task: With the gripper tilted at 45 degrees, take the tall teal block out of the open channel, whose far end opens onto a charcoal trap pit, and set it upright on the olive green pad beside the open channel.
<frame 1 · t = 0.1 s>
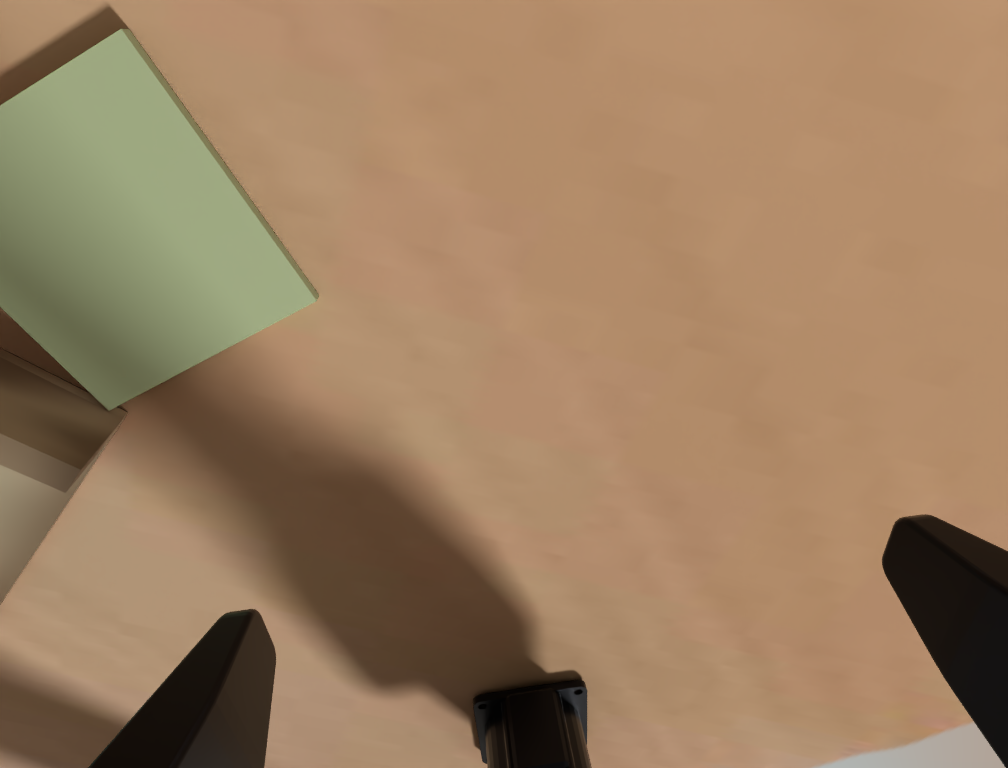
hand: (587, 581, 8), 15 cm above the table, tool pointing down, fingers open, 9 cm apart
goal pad: (121, 243, 19), on the table
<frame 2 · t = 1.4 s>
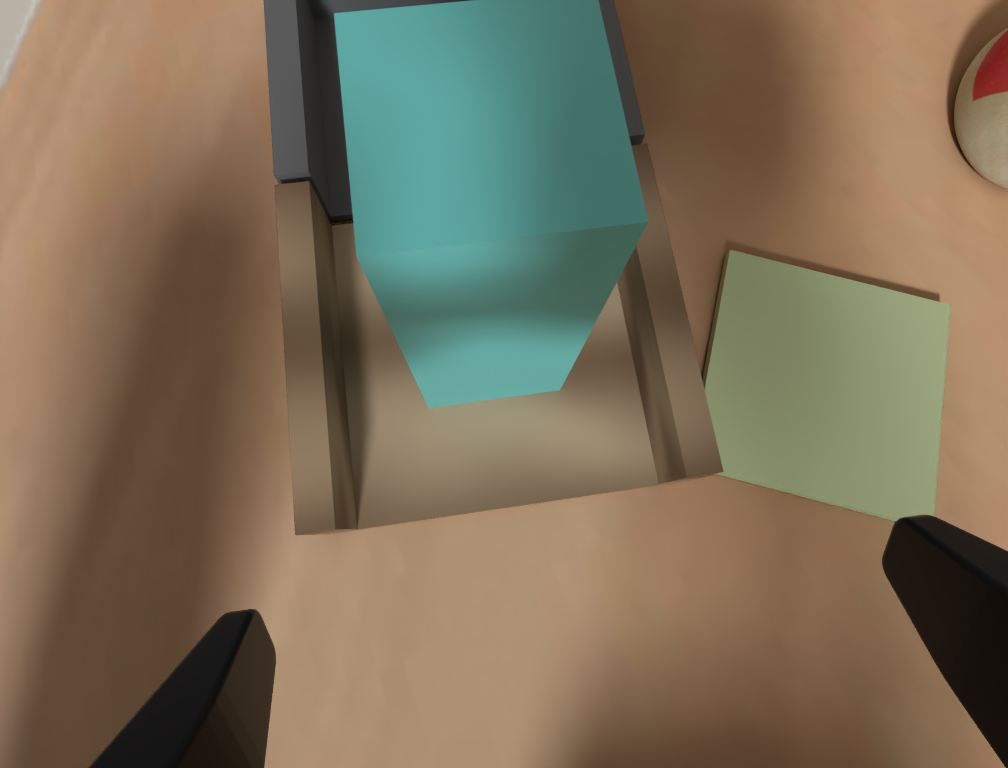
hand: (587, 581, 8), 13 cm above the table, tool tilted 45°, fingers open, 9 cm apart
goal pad: (818, 384, 23), on the table
open channel: (487, 352, 23), on the table
trap pit: (450, 95, 26), on the table
teal block: (485, 336, 23), resting on open channel
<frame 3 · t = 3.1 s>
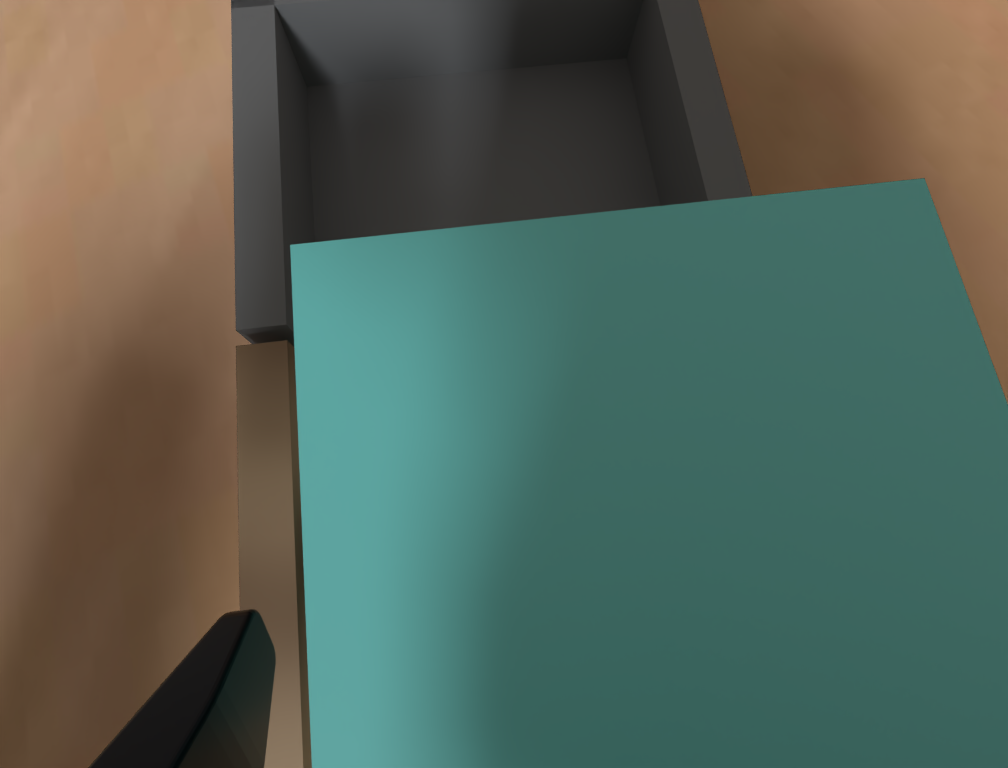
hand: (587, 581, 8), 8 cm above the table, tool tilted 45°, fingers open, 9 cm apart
open channel: (538, 563, 16), on the table
trap pit: (484, 188, 19), on the table
teal block: (536, 544, 16), resting on open channel
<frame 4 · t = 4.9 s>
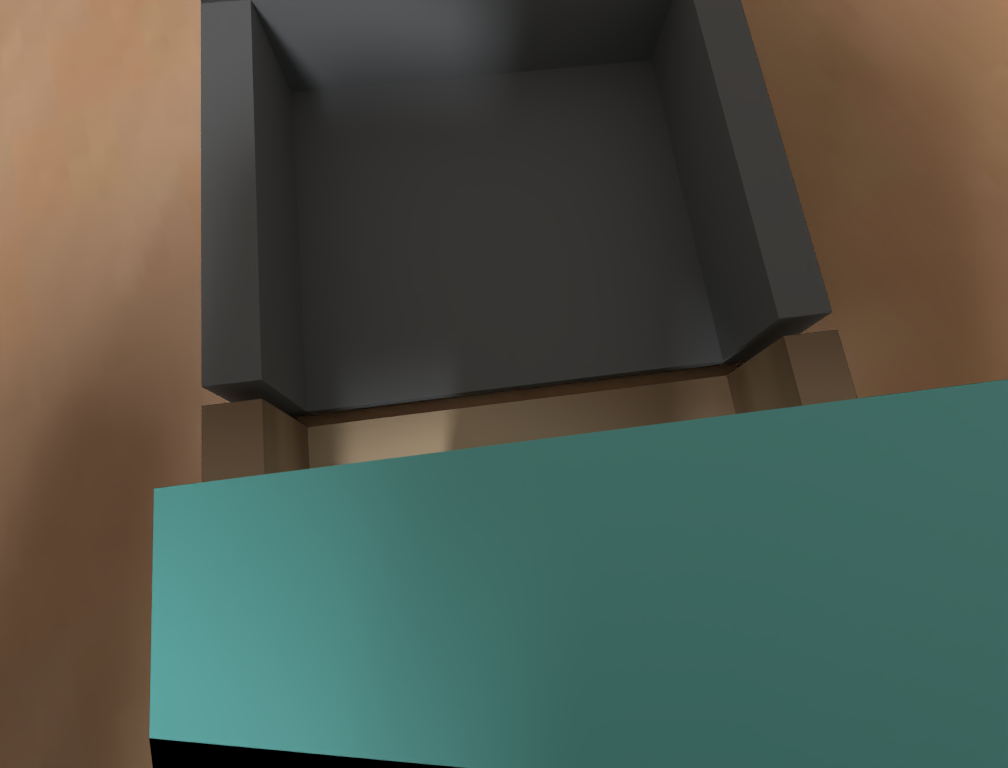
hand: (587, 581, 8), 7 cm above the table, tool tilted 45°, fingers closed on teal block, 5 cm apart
open channel: (555, 645, 14), on the table
trap pit: (492, 208, 17), on the table
teal block: (553, 625, 14), resting on open channel, touching gripper
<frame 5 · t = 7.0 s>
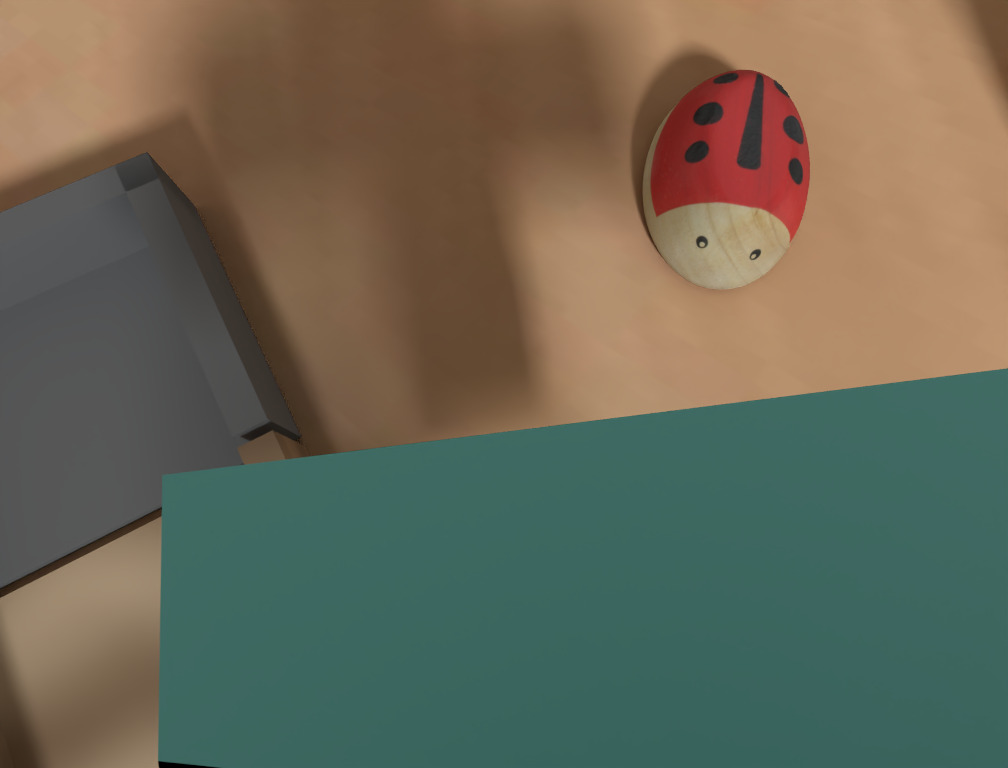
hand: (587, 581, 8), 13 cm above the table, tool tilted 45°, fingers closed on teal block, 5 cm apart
open channel: (193, 696, 20), on the table
trap pit: (78, 393, 22), on the table
teal block: (552, 622, 14), point 7 cm above the table, touching gripper
ladybug figurine: (714, 197, 26), on the table
when the fingers open (8 cm above the table, at t = 9.2 s): teal block drops 1 cm, resting on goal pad.
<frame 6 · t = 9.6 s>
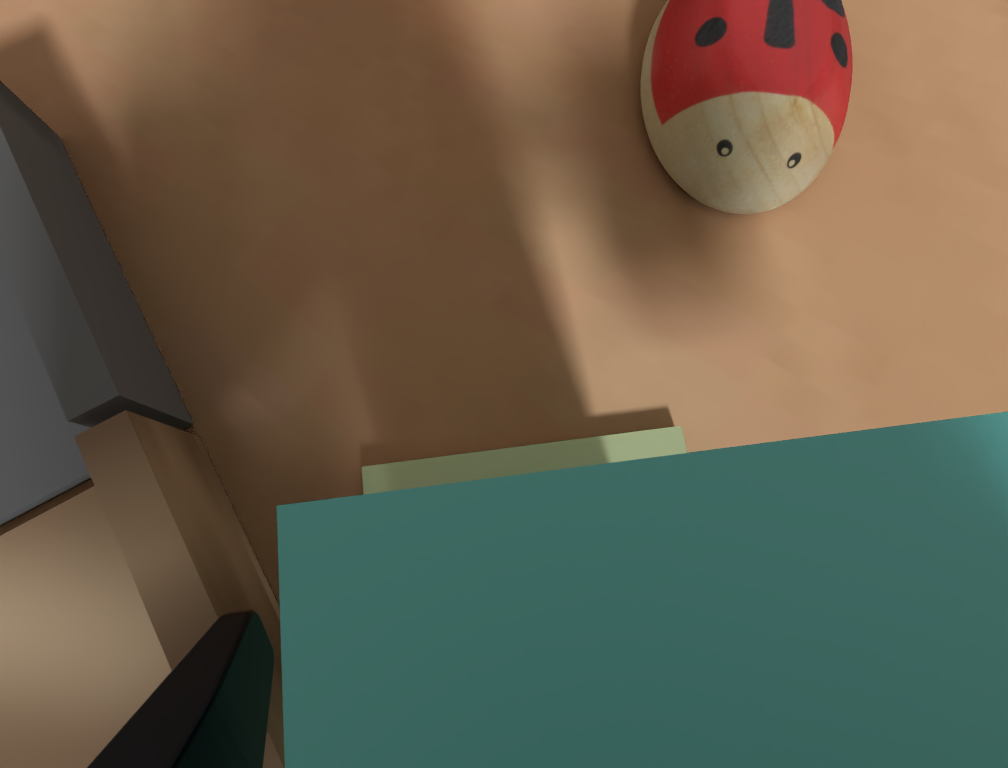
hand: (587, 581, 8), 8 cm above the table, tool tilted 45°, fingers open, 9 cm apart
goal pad: (546, 614, 16), on the table
teal block: (545, 617, 15), resting on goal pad
ladybug figurine: (728, 106, 21), on the table
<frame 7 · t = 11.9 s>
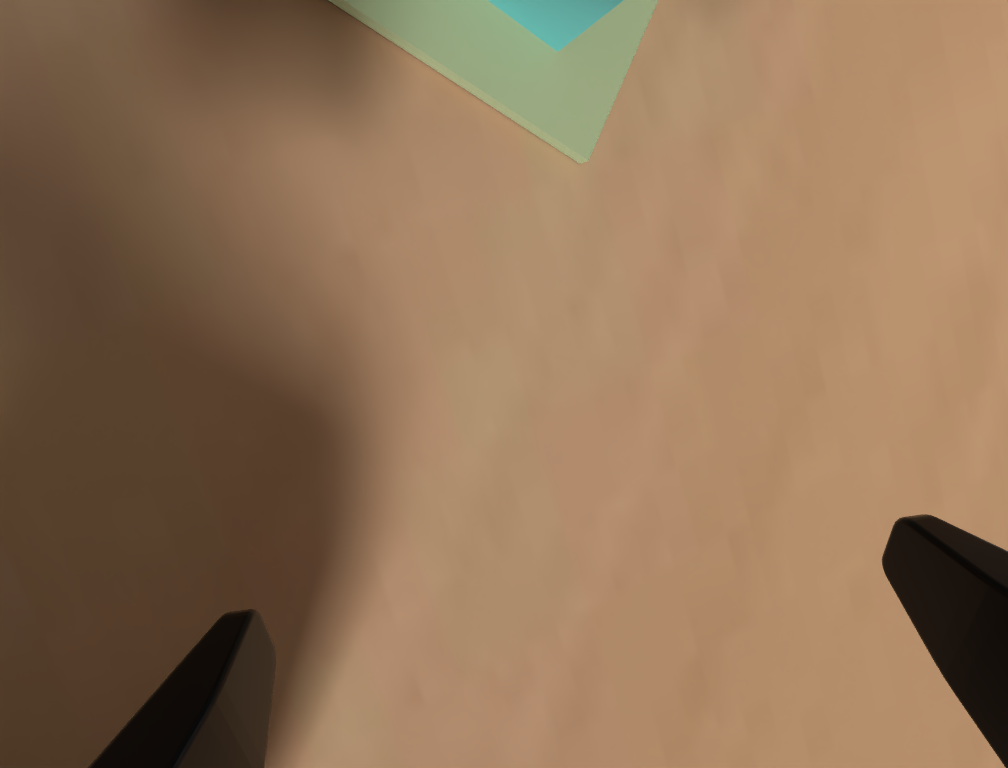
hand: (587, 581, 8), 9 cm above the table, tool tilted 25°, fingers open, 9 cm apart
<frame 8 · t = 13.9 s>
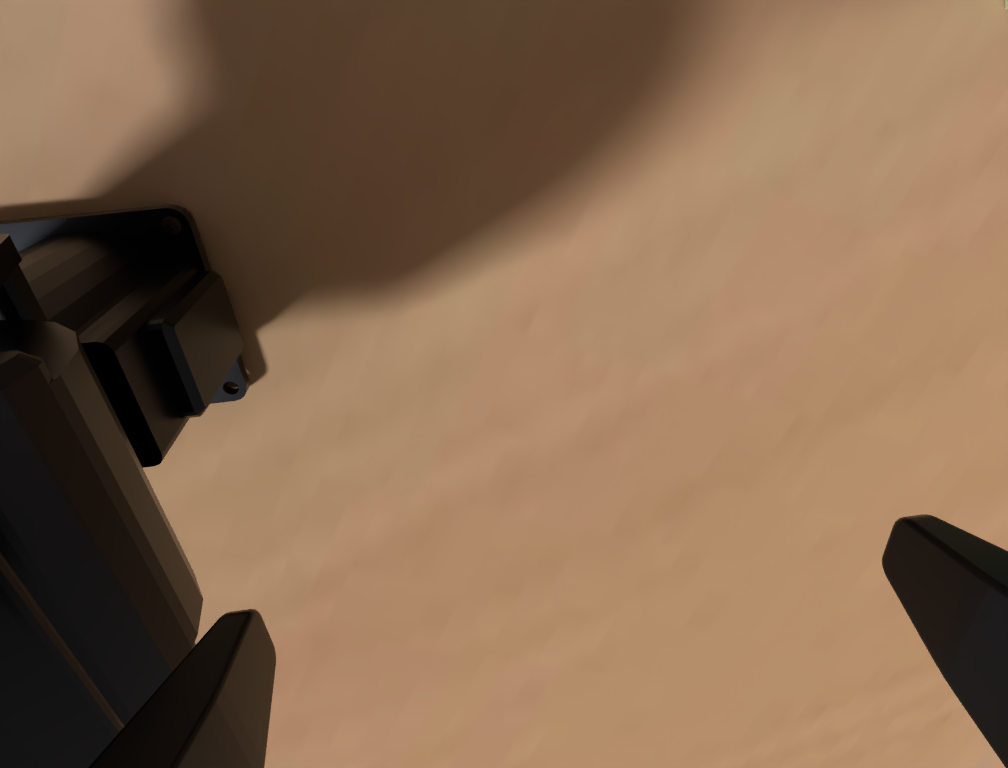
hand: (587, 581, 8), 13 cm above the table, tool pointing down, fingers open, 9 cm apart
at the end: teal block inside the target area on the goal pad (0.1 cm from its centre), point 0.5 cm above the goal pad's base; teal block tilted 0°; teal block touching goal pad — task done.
